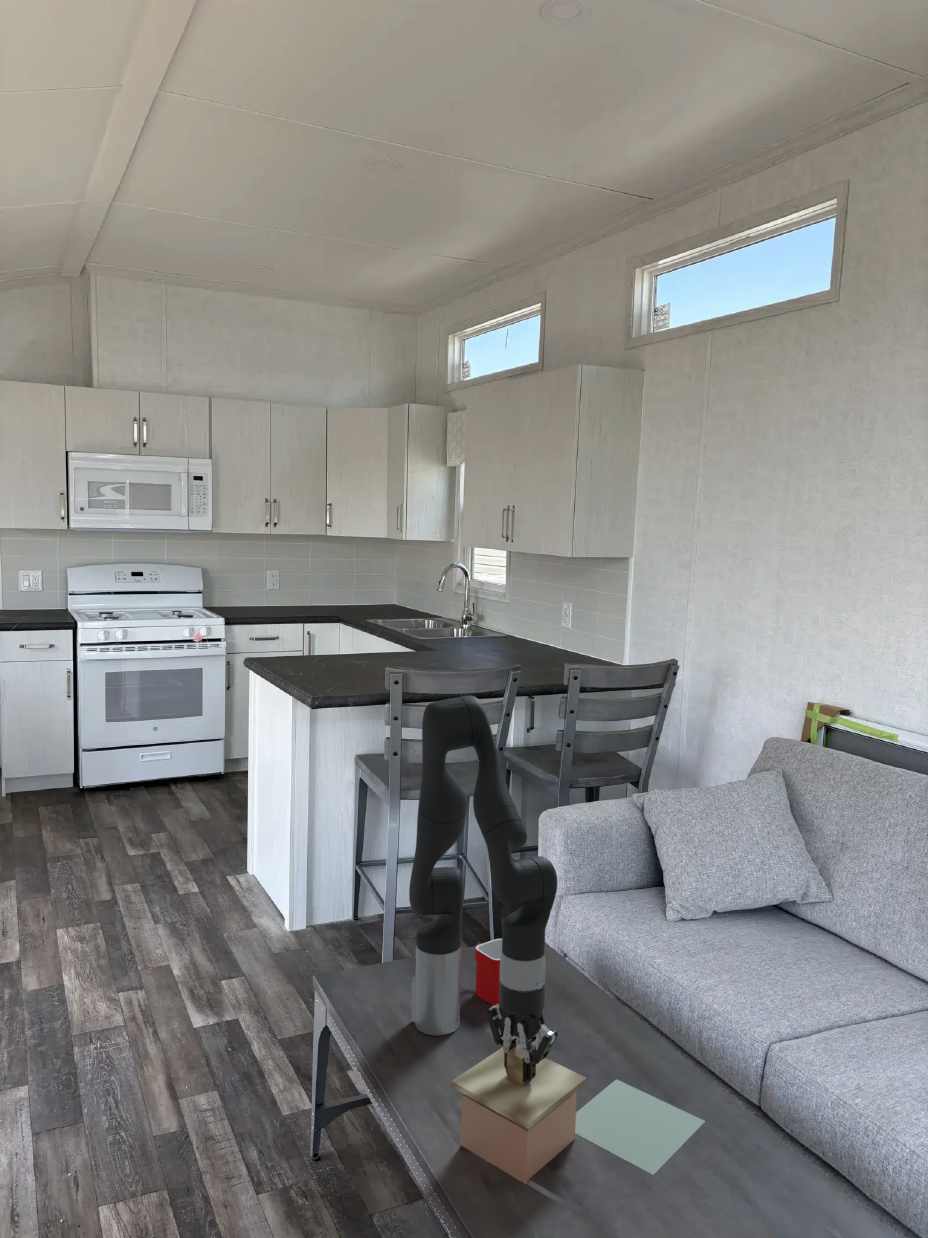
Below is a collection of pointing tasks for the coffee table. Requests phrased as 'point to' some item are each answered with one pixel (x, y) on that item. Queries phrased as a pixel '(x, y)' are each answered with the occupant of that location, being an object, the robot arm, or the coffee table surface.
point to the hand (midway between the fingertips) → (519, 1076)
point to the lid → (518, 1086)
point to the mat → (635, 1126)
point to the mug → (488, 970)
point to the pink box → (516, 1137)
